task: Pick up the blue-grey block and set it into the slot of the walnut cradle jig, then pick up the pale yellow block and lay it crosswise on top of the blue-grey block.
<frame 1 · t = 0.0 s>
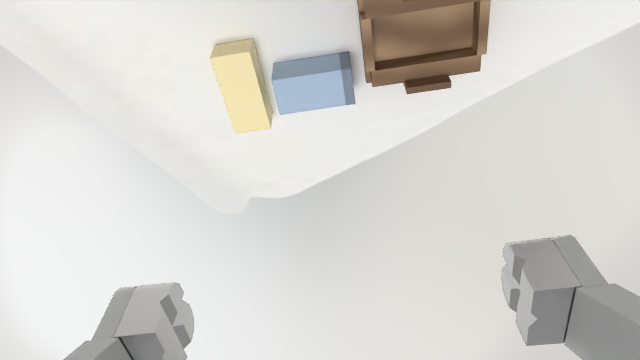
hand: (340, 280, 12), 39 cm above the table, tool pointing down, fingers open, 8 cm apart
pale yellow block: (245, 79, 51), on the table
blue-grey block: (313, 74, 50), on the table
jig: (419, 26, 47), on the table
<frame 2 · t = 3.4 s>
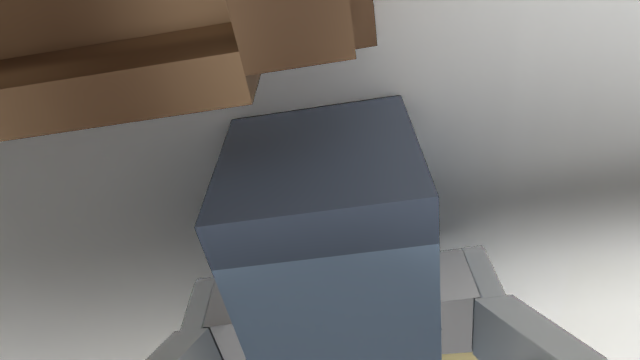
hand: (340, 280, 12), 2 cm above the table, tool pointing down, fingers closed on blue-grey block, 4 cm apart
blue-grey block: (337, 237, 13), on the table, touching gripper
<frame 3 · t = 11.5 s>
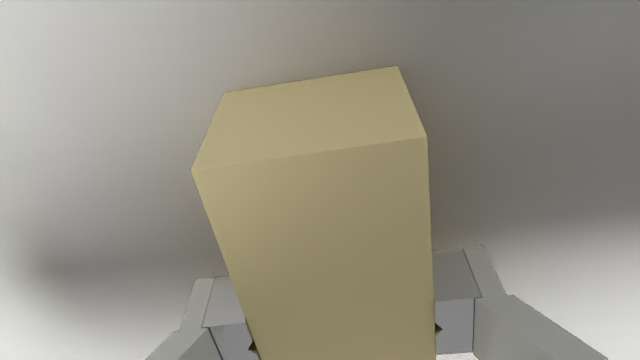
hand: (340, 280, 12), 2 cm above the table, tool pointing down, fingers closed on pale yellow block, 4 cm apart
pale yellow block: (336, 227, 13), on the table, touching gripper
when the fingers open (7 cm above the table, at t = 15.9 s): pale yellow block stays where it is, resting on blue-grey block.
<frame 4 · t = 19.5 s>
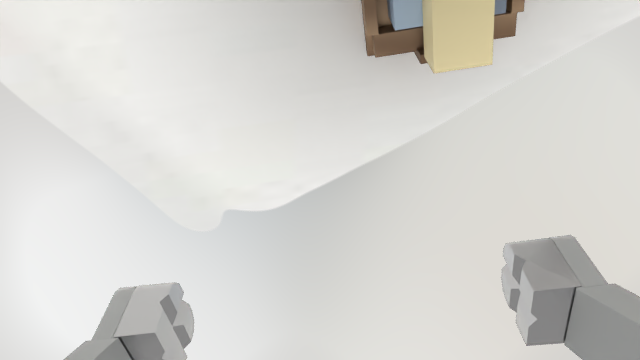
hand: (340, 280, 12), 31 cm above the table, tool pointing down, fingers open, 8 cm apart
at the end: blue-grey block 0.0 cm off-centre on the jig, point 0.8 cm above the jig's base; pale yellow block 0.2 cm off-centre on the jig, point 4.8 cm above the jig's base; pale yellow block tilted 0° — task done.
